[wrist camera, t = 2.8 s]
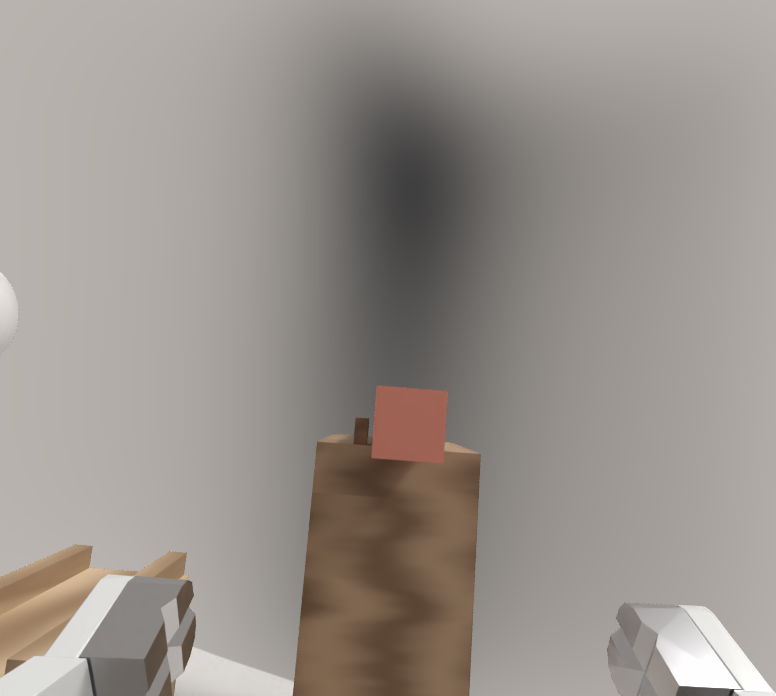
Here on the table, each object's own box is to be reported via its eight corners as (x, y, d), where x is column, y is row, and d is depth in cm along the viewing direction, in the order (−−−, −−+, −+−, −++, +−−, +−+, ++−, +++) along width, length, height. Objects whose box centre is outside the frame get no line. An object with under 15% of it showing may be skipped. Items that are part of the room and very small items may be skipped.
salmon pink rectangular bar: (443, 463, 21) (447, 390, 21) (371, 457, 21) (377, 385, 21) (411, 439, 41) (413, 402, 41) (374, 436, 41) (377, 399, 41)
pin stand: (269, 938, 25) (319, 415, 29) (303, 774, 36) (336, 414, 40) (456, 950, 25) (481, 427, 29) (432, 782, 37) (452, 423, 40)
